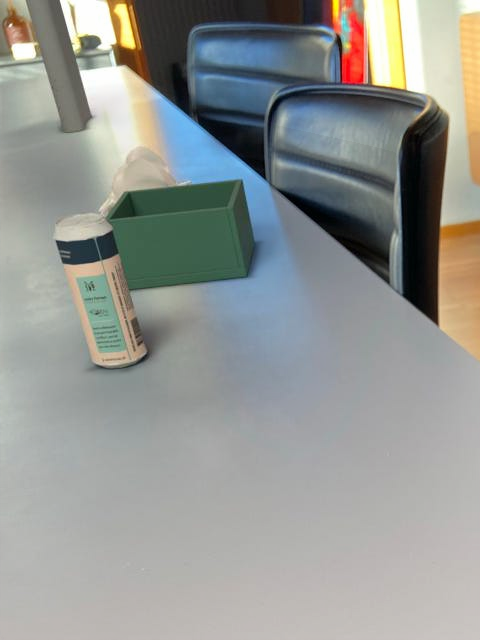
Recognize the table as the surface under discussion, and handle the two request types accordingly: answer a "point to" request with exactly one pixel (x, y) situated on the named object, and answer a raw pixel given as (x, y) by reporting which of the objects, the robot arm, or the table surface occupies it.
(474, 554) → the table surface
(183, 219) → the green storage bin
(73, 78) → the gray upright slab
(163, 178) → the elephant figurine
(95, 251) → the teal-label supplement bottle
